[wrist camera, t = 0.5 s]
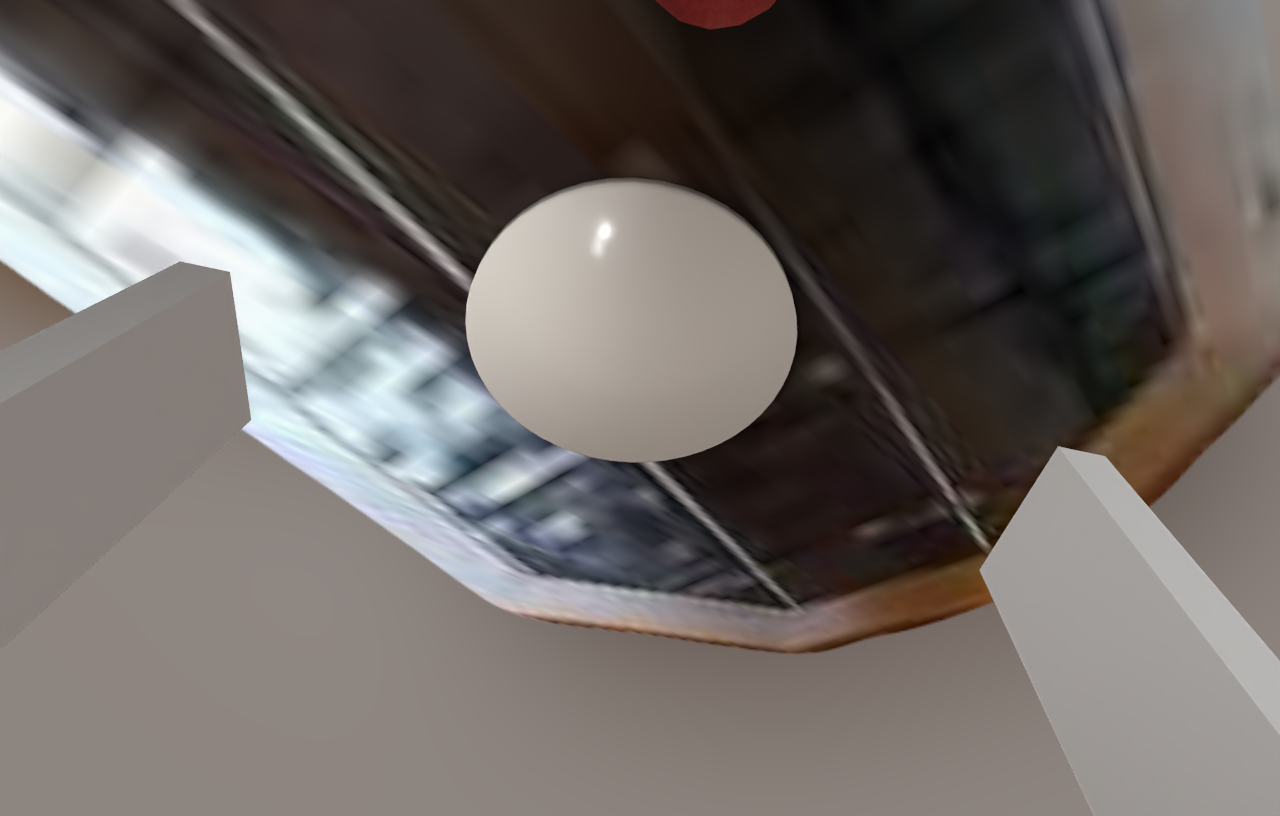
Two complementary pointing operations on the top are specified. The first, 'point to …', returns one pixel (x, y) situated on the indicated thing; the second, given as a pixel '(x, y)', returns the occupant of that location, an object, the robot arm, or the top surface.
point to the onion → (715, 11)
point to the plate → (631, 320)
